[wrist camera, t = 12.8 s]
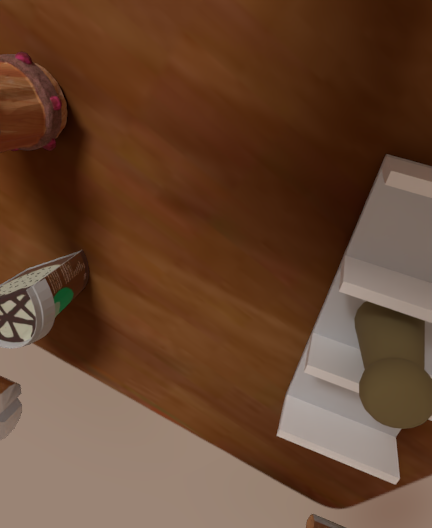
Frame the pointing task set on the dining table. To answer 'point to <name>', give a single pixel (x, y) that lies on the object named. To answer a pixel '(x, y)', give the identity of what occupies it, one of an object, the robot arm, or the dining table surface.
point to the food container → (39, 298)
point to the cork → (393, 366)
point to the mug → (29, 105)
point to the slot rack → (343, 325)
